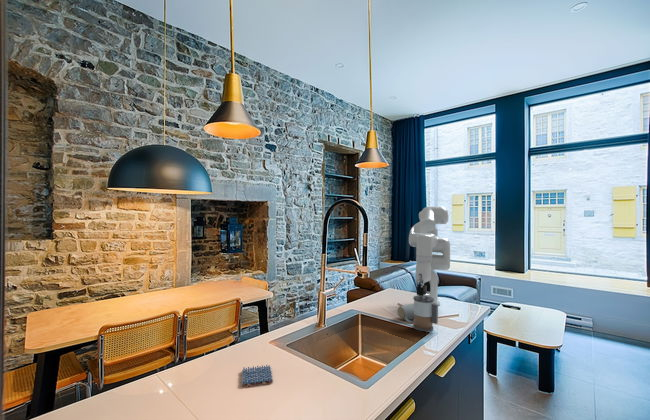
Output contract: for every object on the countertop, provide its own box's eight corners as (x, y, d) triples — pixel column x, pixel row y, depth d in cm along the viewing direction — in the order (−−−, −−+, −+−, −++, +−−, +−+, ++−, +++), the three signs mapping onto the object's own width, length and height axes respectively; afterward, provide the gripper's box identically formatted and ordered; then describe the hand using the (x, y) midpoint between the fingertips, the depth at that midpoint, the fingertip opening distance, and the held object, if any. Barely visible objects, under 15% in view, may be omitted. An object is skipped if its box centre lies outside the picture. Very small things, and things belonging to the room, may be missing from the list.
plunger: (419, 308, 151) (420, 283, 152) (431, 311, 148) (431, 285, 148) (415, 311, 147) (415, 285, 147) (427, 314, 143) (427, 287, 143)
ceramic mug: (396, 317, 162) (396, 303, 162) (409, 316, 164) (409, 302, 164) (407, 324, 152) (407, 309, 152) (420, 323, 154) (421, 308, 154)
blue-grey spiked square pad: (241, 390, 94) (241, 383, 94) (241, 372, 104) (241, 367, 104) (273, 385, 97) (274, 379, 97) (271, 369, 107) (271, 363, 107)
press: (417, 322, 154) (418, 294, 154) (440, 328, 147) (440, 298, 147) (410, 328, 146) (410, 298, 147) (433, 334, 139) (433, 302, 139)
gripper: (423, 256, 157) (422, 288, 156) (410, 260, 143) (409, 295, 143) (437, 258, 152) (437, 291, 152) (425, 261, 138) (424, 298, 138)
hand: (423, 293), depth 147 cm, fingers open, 9 cm apart
